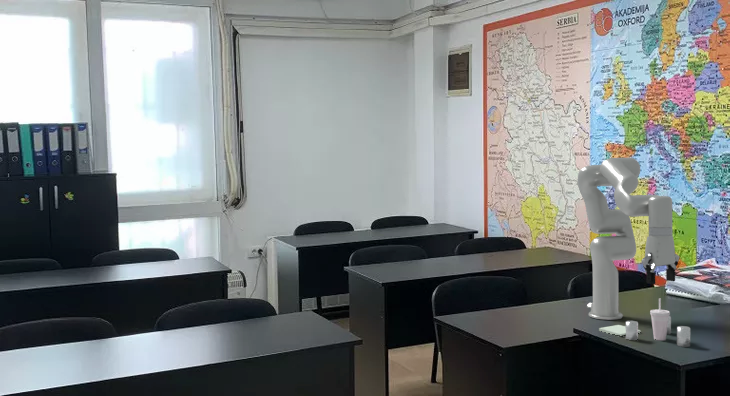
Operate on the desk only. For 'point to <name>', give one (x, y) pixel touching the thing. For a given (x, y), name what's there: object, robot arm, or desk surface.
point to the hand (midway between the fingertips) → (660, 282)
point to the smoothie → (659, 322)
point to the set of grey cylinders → (682, 333)
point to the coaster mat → (615, 330)
